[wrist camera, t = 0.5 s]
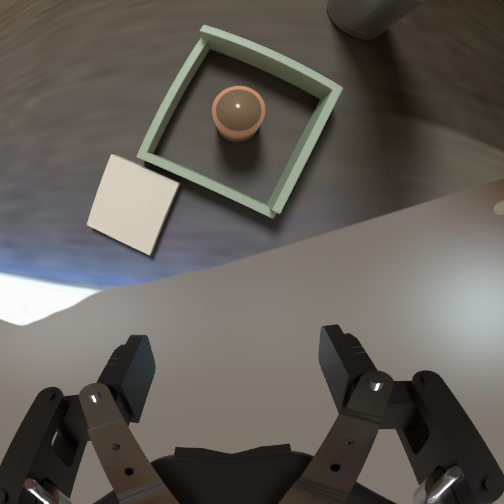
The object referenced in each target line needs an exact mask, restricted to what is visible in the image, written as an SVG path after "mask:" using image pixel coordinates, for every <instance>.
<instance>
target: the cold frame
mask: <svg viewBox="0 0 504 504" xmlns="http://www.w3.org/2000/svg"><path fill="white" fill-rule="evenodd" d="M200 34H201V39H200V40H199V42H198V43H197V45H196V46H195V48H194V49H193V51H192V53H191V54H190V56H189V57H188V59H187V61H186V62H185V64H184V65H183V67H182V69H181V70H180V72H179V74H178V76H177V77H176V79H175V81H174V82H173V84H172V86H171V88H170V90H169V91H168V93H167V95H166V97H165V99H164V101H163V103H162V104H161V106H160V108H159V110H158V112H157V114H156V116H155V118H154V120H153V122H152V124H151V126H150V128H149V130H148V133H147V135H146V137H145V139H144V141H143V143H142V146H141V148H140V150H139V152H138V155H137V157H138V158H140V159H142V160H145V161H147V162H149V163H152V164H154V165H156V166H159V167H161V168H163V169H166V170H168V171H170V172H173V173H175V174H177V175H179V176H182V177H184V178H186V179H188V180H191V181H193V182H195V183H197V184H200V185H202V186H204V187H206V188H208V189H211V190H213V191H215V192H217V193H219V194H222V195H224V196H226V197H228V198H230V199H232V200H234V201H237V202H239V203H241V204H243V205H245V206H247V207H249V208H251V209H254V210H256V211H258V212H260V213H262V214H264V215H266V216H268V217H270V218H272V219H274V217H275V215H276V213H279V214H280V213H281V211H282V209H283V207H284V205H285V203H286V201H287V199H288V197H289V195H290V193H291V191H292V189H293V187H294V185H295V183H296V181H297V179H298V177H299V175H300V173H301V171H302V169H303V167H304V165H305V163H306V161H307V159H308V157H309V155H310V153H311V151H312V149H313V147H314V145H315V143H316V141H317V139H318V137H319V135H320V133H321V131H322V129H323V127H324V125H325V123H326V121H327V119H328V117H329V115H330V113H331V111H332V109H333V107H334V105H335V103H336V101H337V99H338V97H339V95H340V93H341V91H342V89H343V87H341V86H339V85H338V84H336V83H334V82H333V81H331V80H329V79H327V78H326V77H324V76H322V75H320V74H318V73H317V72H315V71H313V70H311V69H309V68H307V67H305V66H304V65H302V64H300V63H298V62H296V61H294V60H292V59H290V58H288V57H285V56H283V55H281V54H279V53H277V52H275V51H272V50H270V49H268V48H266V47H263V46H261V45H259V44H256V43H254V42H251V41H249V40H246V39H244V38H241V37H238V36H236V35H233V34H230V33H228V32H225V31H222V30H219V29H216V28H213V27H210V26H206V25H203V27H202V28H201V30H200ZM210 49H211V50H214V51H217V52H219V53H222V54H225V55H227V56H230V57H233V58H235V59H238V60H240V61H242V62H245V63H247V64H250V65H252V66H254V67H257V68H259V69H261V70H263V71H266V72H268V73H270V74H272V75H274V76H276V77H278V78H280V79H282V80H285V81H287V82H289V83H291V84H293V85H294V86H296V87H298V88H300V89H302V90H304V91H306V92H308V93H310V94H311V95H313V96H315V97H317V98H319V99H320V100H319V102H318V104H317V106H316V108H315V110H314V112H313V114H312V116H311V118H310V120H309V122H308V124H307V126H306V128H305V130H304V132H303V134H302V136H301V138H300V140H299V142H298V144H297V146H296V148H295V150H294V152H293V154H292V156H291V158H290V159H289V161H288V163H287V165H286V167H285V169H284V171H283V173H282V175H281V177H280V179H279V181H278V183H277V185H276V187H275V189H274V191H273V193H272V195H271V197H270V199H269V201H268V203H267V205H266V204H264V203H262V202H260V201H257V200H255V199H253V198H251V197H249V196H247V195H245V194H243V193H241V192H239V191H236V190H234V189H232V188H230V187H228V186H226V185H224V184H221V183H219V182H217V181H215V180H213V179H210V178H208V177H206V176H204V175H202V174H199V173H197V172H195V171H193V170H190V169H188V168H186V167H184V166H181V165H179V164H177V163H174V162H172V161H170V160H167V159H165V158H163V157H160V156H158V155H156V154H154V152H155V149H156V147H157V145H158V143H159V141H160V139H161V137H162V135H163V133H164V130H165V128H166V126H167V124H168V122H169V120H170V118H171V116H172V114H173V113H174V111H175V109H176V107H177V105H178V103H179V101H180V99H181V98H182V96H183V94H184V92H185V90H186V88H187V87H188V85H189V83H190V81H191V80H192V78H193V76H194V75H195V73H196V71H197V70H198V68H199V66H200V65H201V63H202V61H203V60H204V58H205V56H206V55H207V53H208V52H209V50H210Z"/></svg>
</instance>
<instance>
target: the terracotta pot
mask: <svg viewBox="0 0 504 504" xmlns="http://www.w3.org/2000/svg"><path fill="white" fill-rule="evenodd" d="M212 115H213V119H214V122H215V125H216V127H217V130H218V132H219V133H220V135H221V136H222V137H223V138H225V139H226V140H228V141H231V142H243V141H246V140H248V139H250V138H251V137H252V136H254V134H255V133H256V132H257V130H258V128H259V126H260V125H261V123H262V121H263V119H264V117H265V104H264V101H263V99H262V98H261V96H260V95H259V94H258V93H257V92H256V91H254V90H253V89H251V88H248V87H244V86H233V87H230V88H227V89H225V90H223V91H222V92H221V93H220V94H219V95H218V96H217V97H216V99H215V100H214V102H213V106H212Z"/></svg>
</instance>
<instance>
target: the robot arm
mask: <svg viewBox="0 0 504 504" xmlns="http://www.w3.org/2000/svg"><path fill="white" fill-rule="evenodd" d="M425 1H426V0H329V2H328V5H327V11H328V14H329V17H330V18H331V20H332V21H333V23H334V24H335V25H336V26H337V27H338V28H339V29H340V30H342V31H343V32H345V33H346V34H348V35H350V36H352V37H355V38H358V39H363V40H371V39H375V38H376V37H378V36H379V35H381V34H382V33H383V32H384V31H386V30H387V29H388V28H390V27H391V26H392V25H394V24H395V23H396V22H398V21H399V20H400V19H402V18H403V17H404V16H405V15H407V14H408V13H410V12H411V11H412V10H414V9H415V8H416V7H418V6H419V5H421V4H422V3H423V2H425ZM319 363H320V366H321V369H322V371H323V374H324V377H325V379H326V382H327V384H328V387H329V389H330V392H331V395H332V397H333V400H334V402H335V405H336V407H337V410H338V413H339V415H338V417H337V419H336V421H335V423H334V424H333V426H332V428H331V430H330V432H329V433H328V435H327V437H326V439H325V440H324V441H323V443H322V445H321V446H320V448H319V450H318V451H317V453H316V454H315V456H312V455H310V454H306V453H302V452H296V451H291V448H290V444H283V445H274V446H262V447H258V448H255V449H251V450H247V451H243V452H239V453H234V454H229V453H223V452H218V451H213V450H208V449H204V448H182V447H175V453H174V455H168V456H164V457H162V458H159V459H156V460H154V461H153V462H151V463H150V462H149V461H148V459H147V458H146V456H145V455H144V453H143V451H142V450H141V448H140V446H139V445H138V443H137V442H136V440H135V438H134V436H133V434H132V433H131V431H130V429H129V427H128V426H129V423H130V422H134V423H139V420H140V417H141V414H142V410H143V407H144V404H145V401H146V398H147V395H148V392H149V389H150V386H151V383H152V380H153V377H154V374H155V361H154V357H153V353H152V350H151V346H150V342H149V339H148V337H147V335H130V337H129V339H128V341H127V342H126V344H125V345H121V346H119V347H118V348H117V349H116V350H114V352H113V354H112V356H111V357H110V359H109V361H108V363H107V365H106V366H105V368H104V370H103V372H102V373H101V375H100V377H99V379H98V381H97V383H92V384H90V385H87V386H85V387H84V388H83V389H82V390H81V391H80V394H79V395H72V396H64V395H63V393H62V391H61V390H60V389H59V388H56V387H49V388H45V389H43V390H42V391H41V392H40V393H39V394H38V395H37V397H36V398H35V400H34V402H33V404H32V405H31V407H30V409H29V410H28V412H27V414H26V416H25V418H24V419H23V421H22V423H21V425H20V427H19V429H18V431H17V433H16V434H15V436H14V438H13V440H12V442H11V444H10V446H9V448H8V450H7V452H6V454H5V457H4V459H3V461H2V463H1V465H0V504H73V503H72V502H71V500H70V496H71V492H72V489H73V485H74V482H75V478H76V475H77V472H78V468H79V465H80V462H81V459H82V455H83V453H84V449H85V446H86V443H87V441H92V444H93V446H94V449H95V451H96V454H97V456H98V458H99V460H100V463H101V465H102V467H103V469H104V471H105V473H106V475H107V478H108V480H109V482H110V484H111V485H112V488H113V491H111V492H110V493H108V494H107V495H105V496H104V497H102V498H101V499H100V500H98V501H96V502H95V503H93V504H396V503H394V502H392V501H390V500H388V499H386V498H384V497H383V496H381V495H379V494H377V493H375V492H373V491H372V490H370V489H368V488H366V487H364V486H363V485H361V484H359V483H358V482H356V480H357V478H358V476H359V474H360V472H361V470H362V468H363V465H364V463H365V461H366V459H367V457H368V454H369V452H370V450H371V447H372V445H373V443H374V440H375V438H376V435H377V433H378V430H379V429H396V431H397V433H398V435H399V438H400V440H401V442H402V445H403V447H404V449H405V452H406V454H407V456H408V459H409V461H410V464H411V466H412V468H413V471H414V473H415V476H416V478H417V481H418V483H419V487H418V488H417V489H416V491H415V493H414V495H413V504H492V503H493V502H494V501H496V500H497V499H498V498H499V497H500V496H501V495H502V494H503V492H504V474H503V472H502V471H501V469H500V468H499V465H498V464H497V462H496V460H495V458H494V457H493V455H492V453H491V452H490V450H489V449H488V447H487V445H486V443H485V442H484V440H483V439H482V437H481V435H480V434H479V432H478V431H477V429H476V427H475V426H474V424H473V423H472V421H471V420H470V418H469V417H468V415H467V414H466V412H465V411H464V409H463V408H462V407H461V405H460V403H459V402H458V401H457V399H456V398H455V396H454V395H453V393H452V392H451V390H450V389H449V388H448V386H447V385H446V384H445V382H444V381H443V379H442V378H441V377H440V376H439V375H438V374H437V373H435V372H432V371H426V370H425V371H420V372H418V373H416V374H415V375H414V376H413V379H412V381H393V379H392V378H391V377H390V376H389V375H388V374H387V373H385V372H382V371H378V370H377V369H376V367H375V366H374V364H373V362H372V361H371V359H370V358H369V356H368V355H367V353H366V352H365V350H364V348H363V347H362V345H361V344H360V342H359V340H358V339H357V338H356V337H354V336H353V335H351V334H349V333H347V334H344V333H343V332H342V330H341V328H340V327H339V325H338V324H336V325H329V326H322V327H321V333H320V344H319ZM56 432H57V436H56V438H55V440H54V443H53V446H52V439H53V437H54V435H55V433H56Z"/></svg>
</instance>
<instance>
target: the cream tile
mask: <svg viewBox="0 0 504 504" xmlns="http://www.w3.org/2000/svg"><path fill="white" fill-rule="evenodd" d="M180 185H181V182H178V181H176V180H174V179H172V178H169V177H167V176H165V175H162V174H160V173H158V172H156V171H153V170H151V169H149V168H146V167H144V166H142V165H139V164H137V163H135V162H132V161H130V160H127V159H125V158H123V157H120V156H118V155H114V154H111V157H110V159H109V162H108V164H107V167H106V169H105V172H104V175H103V177H102V180H101V183H100V186H99V189H98V191H97V194H96V197H95V200H94V203H93V206H92V210H91V213H90V216H89V219H88V223H87V225H88V226H90V227H92V228H94V229H96V230H98V231H100V232H102V233H104V234H106V235H108V236H110V237H112V238H114V239H116V240H118V241H120V242H122V243H125V244H127V245H129V246H131V247H133V248H135V249H137V250H139V251H141V252H143V253H146V254H148V255H151V253H152V252H153V250H154V247H155V245H156V242H157V240H158V237H159V235H160V232H161V230H162V227H163V225H164V222H165V220H166V217H167V215H168V212H169V210H170V208H171V205H172V203H173V201H174V198H175V196H176V194H177V191H178V189H179V187H180Z"/></svg>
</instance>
